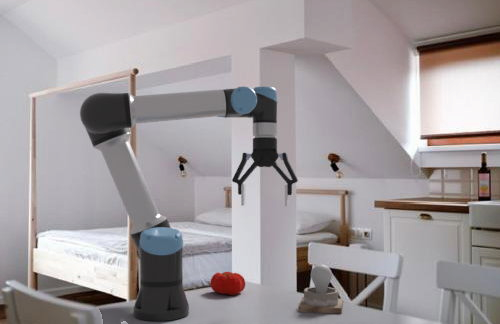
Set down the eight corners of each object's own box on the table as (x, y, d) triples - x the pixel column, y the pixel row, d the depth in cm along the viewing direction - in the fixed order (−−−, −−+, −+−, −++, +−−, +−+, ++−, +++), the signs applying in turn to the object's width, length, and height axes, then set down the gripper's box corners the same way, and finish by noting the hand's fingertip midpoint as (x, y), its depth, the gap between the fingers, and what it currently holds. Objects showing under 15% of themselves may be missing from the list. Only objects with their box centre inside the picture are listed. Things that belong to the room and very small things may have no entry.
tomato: (225, 288, 203) (225, 269, 203) (250, 293, 196) (250, 273, 196) (204, 293, 196) (204, 273, 196) (229, 298, 188) (229, 277, 188)
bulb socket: (298, 311, 172) (298, 293, 172) (302, 301, 183) (302, 285, 183) (341, 313, 169) (341, 295, 169) (342, 303, 181) (342, 286, 181)
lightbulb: (331, 305, 173) (331, 266, 173) (309, 304, 174) (309, 265, 174) (332, 300, 179) (332, 262, 179) (311, 299, 180) (311, 262, 180)
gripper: (306, 137, 190) (306, 205, 190) (228, 137, 194) (228, 204, 194) (303, 136, 183) (303, 207, 183) (222, 136, 187) (222, 205, 187)
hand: (264, 205), depth 188 cm, fingers open, 13 cm apart
